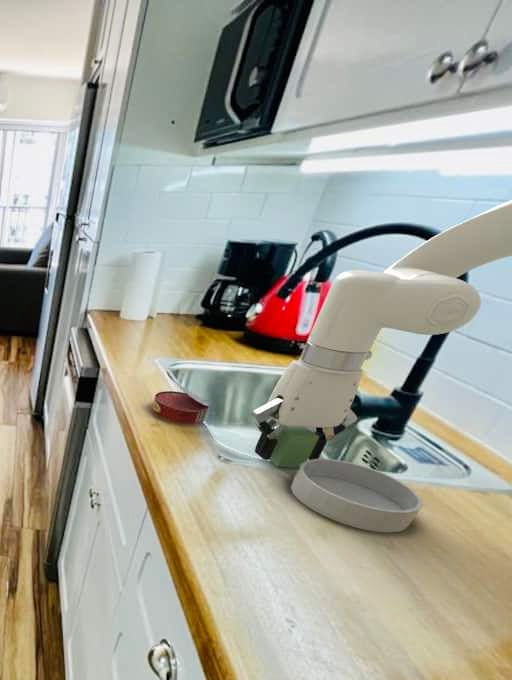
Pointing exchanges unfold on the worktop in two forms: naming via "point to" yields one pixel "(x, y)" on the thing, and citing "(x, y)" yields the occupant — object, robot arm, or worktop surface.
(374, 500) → the basin
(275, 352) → the worktop surface
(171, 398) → the canned food
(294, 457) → the green block
